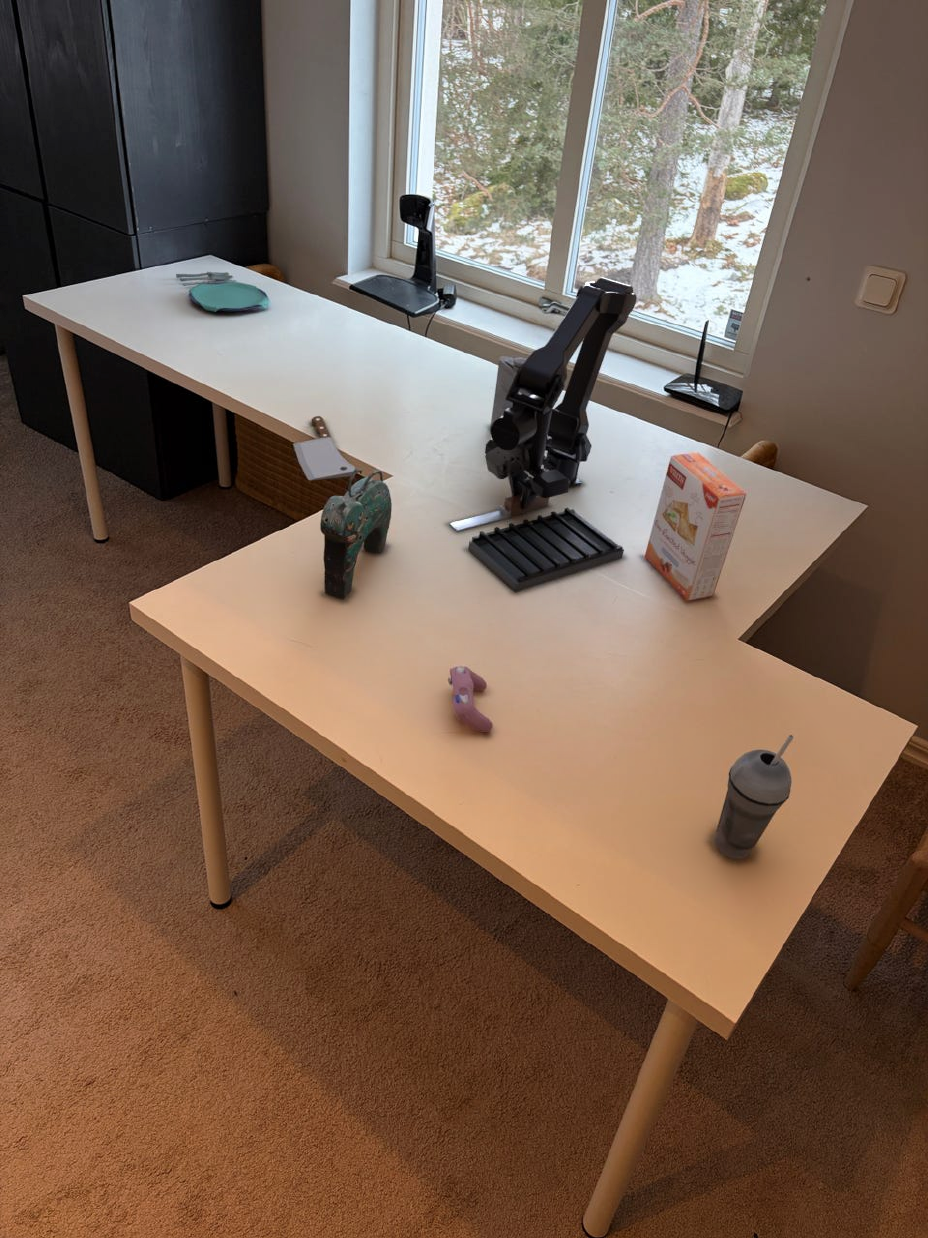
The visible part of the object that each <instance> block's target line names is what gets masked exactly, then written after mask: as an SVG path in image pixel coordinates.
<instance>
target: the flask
mask: <svg viewBox="0 0 928 1238" xmlns="http://www.w3.org/2000/svg"><path fill="white" fill-rule="evenodd" d="M526 359H527V358H526V357H521V356H517V357H515V358H513V357H511V356H505V355H504V356H503V355H502V356H500V357H499V359H498V365H497V374H496V382H495V388H494V389H495V390H494V396H493V405H492V412H491V419H490V429H491V426H492V424H493V422H494V421H495V420H496V419H498V418H500V417H501V416H503V413H504V411H505V410H506V409H508V408H511V407H512V405H513V403H512V402H509V401H506V396H507V394H508V392H509V389H510V387H511V385H512V383H513V381H514V378H515V376H516V374H517V372H518V370H519V368H520V366H521V365H522V364H523V363H524V362H525V361H526ZM518 393H521V394H524V395H527V396H529V397H530V396H531V395H533V394H530V393H527V392H525V391H522V390H521V389H520V390H519V391H518Z"/></svg>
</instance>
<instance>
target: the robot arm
mask: <svg viewBox="0 0 928 1238" xmlns="http://www.w3.org/2000/svg"><path fill="white" fill-rule="evenodd" d="M636 303H637V294H635V293H634V287H633V286H632V285H630V284H629V285H628V284H625V283H622V282H619V281H616V280H612V279H609V278H605V277H599V278H598V279H597V281H586V282H585V284H583V285H581V286H580V287H579V288H578V290H577V293H576V295H575V300H574V302H573V303H572V304H571V306H570V308H569V309H568V310H567V312H566V314H565V315H564V317H563V319H562V320H561V322H560V323H559V325H558V326H557V327H556V329H555V331H554V332H553V334H552V335H551V336H550V338H549V340H548V341H547V342H546V344H545V345H544V346H542V347H539V348H536V349H535V350H533V351H532V352H531V353H530V354H529V355H528V357H527V358H526V361H525V362H524V363H523V364H522V365H521V366H520V368H519V370H518V372H517V374H516V376H515V378H514V381H513V383H512V385H511V387H510V389H509V392H508V394H507V396H506V401H509V402H512V403H513V405H512V407H511V408H508V409H506V410H505V411H504V413H503V416H501V417H500V418H498V419H496V420H495V421H494V422H493V424H492V426H491V425H490V426H491V428H490V437H491V438H490V439H489V440H488V441H487V442H486V443H485V448H484V454H485V455H484V458H485V463H486V468H487V471H488V472H489V473H491V474H493V476H495V478H497V479H498V480H505V479H507V478H508V481H509V487H510V491H511V492H510V493H511V497H512V496H516V495H520V494H522V502H521V508H522V510H525V509H527V508H528V507H529V505H530V504H531V503H532V502H533V500H534V499H535V498H536V496H537V495H539V496H540V497H542V498H549V499H550V498H553V497H556V496H561V495H563V494H567V493H569V489H570V488H571V487H572V488H573V487H575V486H579V485H582V480H580V479H579V478H578V473H579V468H580V464H581V463H582V462H583V463H584V462H585V463H586V462H587V461H588V458H589V455H590V453H591V449H592V446H593V445H592V443H591V441H590V439H589V437H588V435H587V434H588V431H589V428H590V427H589V426H590V423H589V419H588V414H587V408H588V404H589V402H590V399H591V396H592V394H593V391H594V387H595V385H596V382H597V380H598V376H599V374H600V371H601V368H602V364H603V362H604V360H605V359H604V358H605V357H606V353H607V351H608V348H609V345H610V342H611V339H612V337H613V335H614V333H616V332H617V331H618V330H620V329H621V327H623V326H624V325H625V324H626V323H627V321H628V318H629V317H630V314H631V313H633V310H634V308H635V306H636ZM581 343H582V344H581ZM579 347H580V349H579V352H578V355H577V357H576V360H575V364H574V365H573V369H572V372H571V375H570V378H569V381H568V384H567V386H566V389H565V384H566V382H567V379H568V365H569V362H570V361H571V359H572V358H573V356H574V355H575V353H576V351H577V350H578V348H579ZM520 389H521V390H522V391H525V392H527V393H530V394H533V395H531V396H530V397H529V396H527V395H524V394H521V393H518V391H519V390H520ZM564 389H565V393H564V395H563V398H562V401H561V402H560V403H559V404H558V405H557V406H556V407H555V405H556V404H557V402H558V400H559V398H560V396H561V394H562V392H563V391H564ZM546 452H547V453H546ZM545 453H546V455H545Z"/></svg>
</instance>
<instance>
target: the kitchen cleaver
mask: <svg viewBox="0 0 928 1238" xmlns="http://www.w3.org/2000/svg"><path fill="white" fill-rule="evenodd" d="M311 424H312V425H313V426H314V427H315V431H316V433H317V435H318V438H314V439H310V440H305V441H301V442H294V443H292V445H293V448H294V452H295V454H296V458H297V461H298V464H299V466H300V468H301V469H302V471H303V473H304V475H305V477H306V479H307V480H308V481H310V482H311V481H318V480H319V481H320V480H329V479H338V478H347V477H348V478H349V477H350V476H351V475H352V473H353V472H354V471H355V470H356V466H354V465H353V464H351V462H348V460H346V458H345V457H344V456H343V455H342V453H340V451H339V450H338V448H337V446H336V444H335V442H334V440H333V439H332V436H331V433H330V431H329V429H328V427H327V424H326V422H325V420H324V418H323V417H322V416H320V415H315V416H313V417H312V418H311Z"/></svg>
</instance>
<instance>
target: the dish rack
mask: <svg viewBox="0 0 928 1238" xmlns="http://www.w3.org/2000/svg"><path fill="white" fill-rule="evenodd" d="M493 528H494V529H493V531H490V532H485V531H483V530H481V531H479V533H478V535H475V536H472V538H471V540H469V541H468V547H467V548H468V549H467V550H468V552H470V553H471V554H472V555H473V556H474V557H476V559H478V560H479V561H480V562H481V563H482V564H483V565H484V566H486V568H487V569H489V571H491V572H492V573H493V574H494V575H495V576H496V577H497V578H498V579H500V580H501V581H502V582H503V583H504V584H505V585H506V586H507V587H509V588H510V589H511V590H512V591H513V592H514V593H517V592H521V591H524V590H527V589H531V588H534V587H537V586H539V585H542V584H546V583H549V582H552V581H555V580H558V579H561V578H565V577H567V576H570V575H574V574H576V573H580V572H582V571H586V570H589V569H592V568H595V567H598V566H601V565H604V564H607V563H611V562H614V561H616V560H620V559H623V556H624V552H625V549H624V548H623V546H622V545H619V544H618V543H616V542H615V541H614V540H613V539H611V538H610V537H608V535H606V534H605V533H603V532H602V531H601V530H599V529H598V528H596V526H594V525H593V524H592V523H590V522H589V521H587V520H586V519H585V518H584V517H582V516H581V515H580V514H578V513H577V512H576V510H575V509H574V508H572V509H570V508H569V507H565V508H564V509H563V511H561V512H558V513H557V512H555V511H551V512H550V515H546V516H542V515H541V514H539V515H537V516H536V518H535V519H532V520H528V519H527V518H525V519H523V520H522V523H518V524H514V523H513V522H510V523H509V524H508V526H507V527H504V528H499V526H496V527H493Z"/></svg>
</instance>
